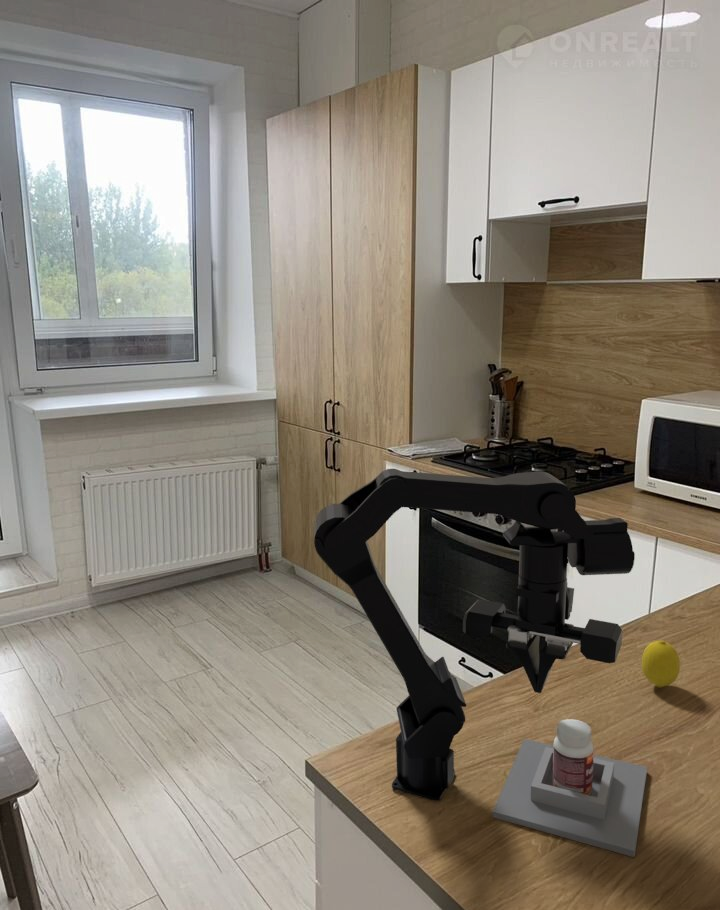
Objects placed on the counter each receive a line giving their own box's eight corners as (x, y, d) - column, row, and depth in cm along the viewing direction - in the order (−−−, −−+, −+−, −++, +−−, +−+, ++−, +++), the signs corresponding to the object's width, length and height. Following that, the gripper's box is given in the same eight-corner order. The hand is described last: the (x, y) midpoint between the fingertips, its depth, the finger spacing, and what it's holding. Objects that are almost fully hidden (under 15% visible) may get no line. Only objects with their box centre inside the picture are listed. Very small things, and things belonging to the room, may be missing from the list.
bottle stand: (492, 817, 86) (492, 796, 86) (524, 743, 101) (524, 725, 100) (634, 857, 80) (635, 835, 79) (646, 772, 94) (647, 753, 93)
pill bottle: (594, 803, 87) (596, 740, 85) (553, 798, 88) (555, 737, 86) (590, 778, 92) (592, 718, 90) (551, 774, 93) (553, 715, 91)
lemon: (681, 683, 115) (683, 637, 113) (674, 700, 110) (677, 651, 108) (644, 675, 118) (646, 629, 116) (637, 690, 113) (639, 643, 111)
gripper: (632, 566, 91) (625, 678, 94) (489, 545, 100) (487, 649, 103) (618, 597, 82) (610, 721, 85) (462, 572, 90) (460, 685, 93)
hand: (538, 691), depth 92 cm, fingers closed
